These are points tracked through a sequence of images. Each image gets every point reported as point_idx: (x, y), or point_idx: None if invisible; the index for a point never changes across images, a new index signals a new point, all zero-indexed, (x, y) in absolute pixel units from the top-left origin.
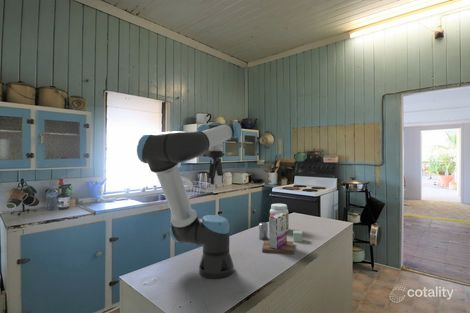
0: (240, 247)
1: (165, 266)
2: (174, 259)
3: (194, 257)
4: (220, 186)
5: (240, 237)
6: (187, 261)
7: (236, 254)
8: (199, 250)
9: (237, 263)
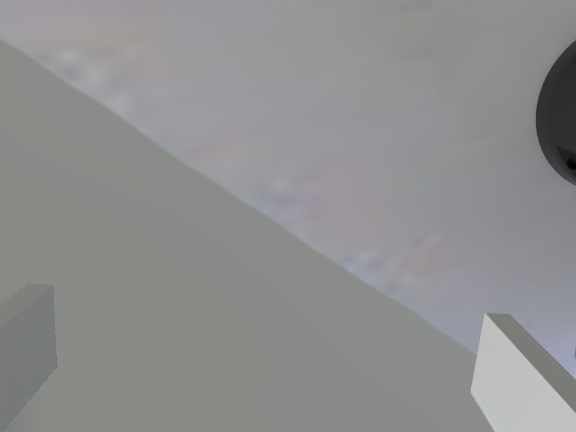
0: (303, 20)
1: (563, 351)
2: None
3: (462, 254)
4: (49, 309)
5: (114, 42)
6: (510, 274)
7: (416, 32)
8: (367, 254)
9: (539, 10)
